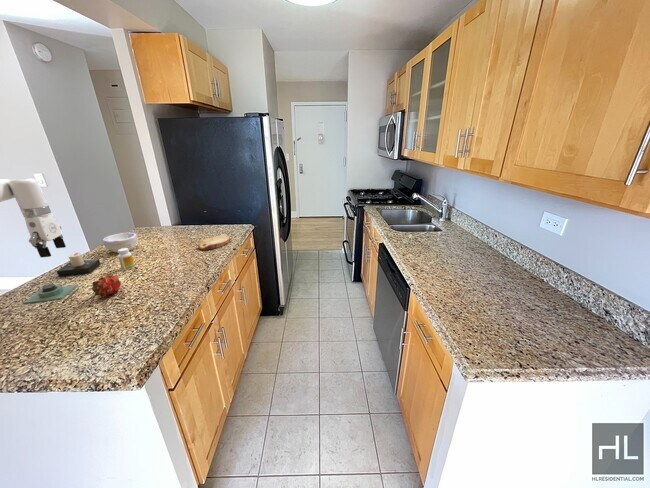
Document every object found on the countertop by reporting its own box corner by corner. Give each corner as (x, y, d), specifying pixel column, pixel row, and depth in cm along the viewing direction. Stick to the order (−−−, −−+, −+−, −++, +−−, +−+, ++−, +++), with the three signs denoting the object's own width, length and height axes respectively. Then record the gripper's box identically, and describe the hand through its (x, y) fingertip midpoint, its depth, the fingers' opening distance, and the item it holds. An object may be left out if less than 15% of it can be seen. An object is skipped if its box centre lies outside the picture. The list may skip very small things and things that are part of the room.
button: (41, 293, 99) (39, 289, 98) (47, 288, 102) (45, 284, 102) (52, 291, 100) (50, 287, 99) (58, 287, 103) (57, 283, 102)
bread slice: (230, 237, 166) (229, 231, 165) (231, 247, 151) (231, 241, 149) (199, 240, 160) (198, 235, 159) (198, 251, 144) (196, 245, 143)
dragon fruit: (98, 306, 100) (118, 293, 111) (115, 292, 99) (133, 281, 111) (79, 290, 98) (102, 279, 109) (96, 276, 97) (117, 266, 109)
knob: (81, 266, 122) (77, 255, 120) (70, 267, 120) (66, 257, 118) (86, 262, 125) (82, 252, 123) (75, 263, 124) (71, 253, 122)
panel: (58, 277, 118) (56, 270, 117) (72, 267, 127) (69, 261, 126) (90, 273, 121) (87, 267, 120) (100, 264, 130) (98, 258, 129)
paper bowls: (146, 244, 154) (142, 232, 151) (125, 255, 140) (121, 241, 137) (122, 244, 155) (118, 231, 152) (99, 254, 141) (94, 240, 138)
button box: (25, 307, 96) (20, 298, 95) (44, 293, 105) (39, 285, 104) (64, 302, 99) (60, 293, 98) (79, 289, 108) (75, 280, 107)
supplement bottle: (137, 265, 129) (132, 247, 126) (131, 270, 124) (125, 251, 121) (126, 265, 129) (120, 247, 125) (119, 270, 124) (113, 251, 120)
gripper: (33, 216, 94) (51, 259, 100) (62, 205, 109) (76, 243, 115) (6, 218, 92) (27, 262, 98) (39, 207, 107) (55, 245, 113)
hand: (54, 252), depth 107 cm, fingers open, 9 cm apart
